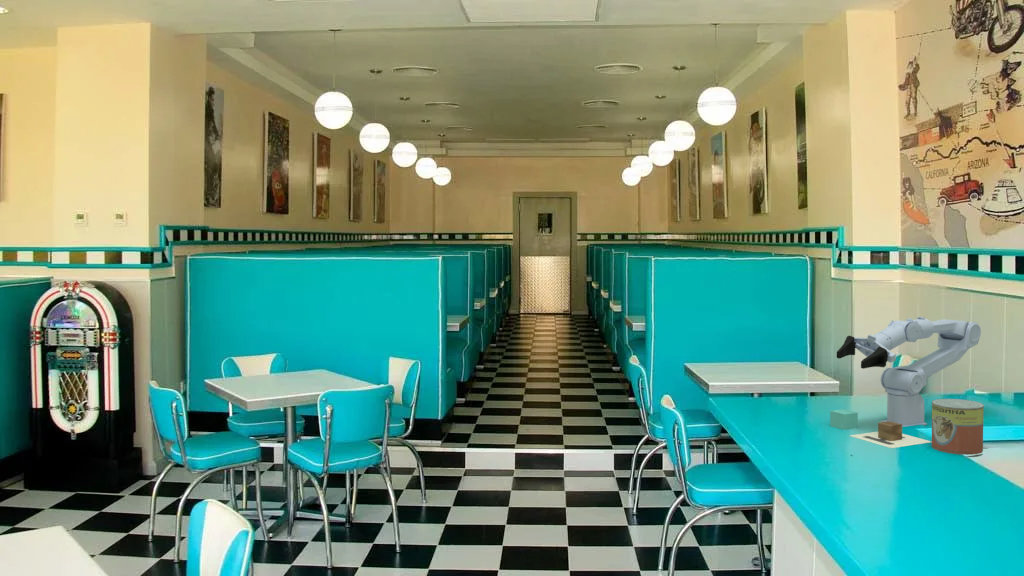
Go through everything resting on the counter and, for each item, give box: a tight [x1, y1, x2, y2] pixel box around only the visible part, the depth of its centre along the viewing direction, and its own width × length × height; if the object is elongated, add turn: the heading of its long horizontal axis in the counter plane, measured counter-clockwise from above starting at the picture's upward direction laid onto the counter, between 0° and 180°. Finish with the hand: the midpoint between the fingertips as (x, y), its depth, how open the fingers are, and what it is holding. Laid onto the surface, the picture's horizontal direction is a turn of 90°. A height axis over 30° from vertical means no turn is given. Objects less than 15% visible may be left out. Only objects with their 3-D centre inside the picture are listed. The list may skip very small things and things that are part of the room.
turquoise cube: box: [829, 408, 859, 430], centre depth 218 cm, size 5×5×5 cm
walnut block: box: [877, 421, 903, 441], centre depth 205 cm, size 4×4×4 cm
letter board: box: [848, 431, 932, 449], centre depth 205 cm, size 14×14×1 cm
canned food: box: [931, 398, 985, 458], centre depth 194 cm, size 11×11×12 cm
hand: (849, 359), depth 211 cm, fingers open, 7 cm apart
